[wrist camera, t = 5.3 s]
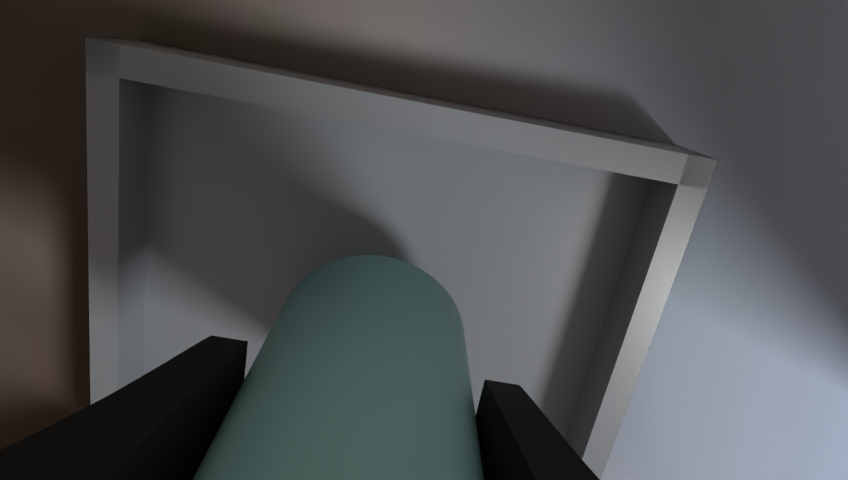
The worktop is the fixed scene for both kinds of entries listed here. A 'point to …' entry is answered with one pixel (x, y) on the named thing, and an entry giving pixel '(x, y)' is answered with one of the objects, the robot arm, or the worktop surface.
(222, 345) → the robot arm
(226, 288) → the tray
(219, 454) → the peg
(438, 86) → the worktop surface
